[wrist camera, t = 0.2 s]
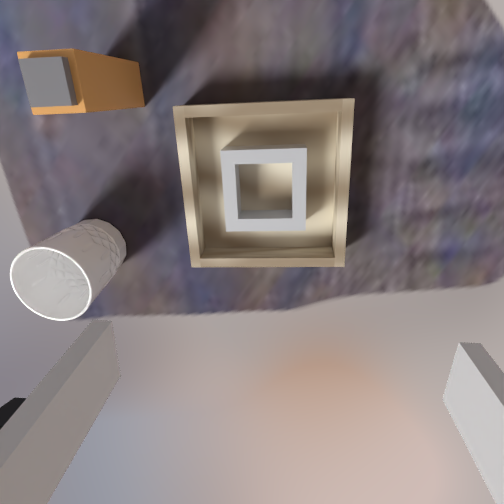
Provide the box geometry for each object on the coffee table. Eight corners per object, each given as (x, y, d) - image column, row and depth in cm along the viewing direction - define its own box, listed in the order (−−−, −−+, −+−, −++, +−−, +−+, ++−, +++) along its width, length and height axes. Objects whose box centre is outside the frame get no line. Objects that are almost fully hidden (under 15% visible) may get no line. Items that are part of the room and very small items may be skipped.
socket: (224, 146, 37) (220, 150, 34) (305, 143, 36) (306, 147, 34) (230, 222, 40) (226, 231, 38) (304, 220, 40) (305, 230, 37)
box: (183, 105, 37) (172, 106, 33) (347, 97, 35) (354, 98, 32) (199, 252, 43) (191, 267, 39) (339, 251, 42) (344, 266, 38)
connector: (98, 64, 36) (8, 50, 24) (138, 62, 36) (66, 47, 24) (106, 108, 38) (26, 115, 26) (144, 106, 37) (80, 113, 25)
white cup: (54, 225, 43) (-8, 261, 34) (111, 204, 42) (63, 235, 33) (88, 282, 46) (39, 329, 37) (143, 264, 44) (106, 308, 35)
